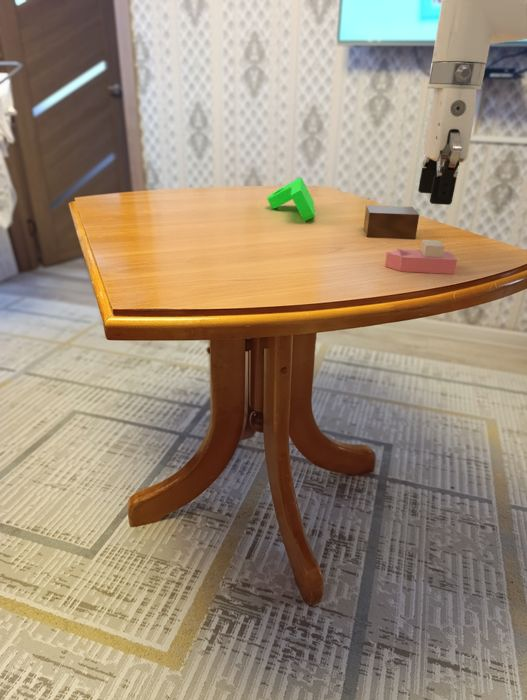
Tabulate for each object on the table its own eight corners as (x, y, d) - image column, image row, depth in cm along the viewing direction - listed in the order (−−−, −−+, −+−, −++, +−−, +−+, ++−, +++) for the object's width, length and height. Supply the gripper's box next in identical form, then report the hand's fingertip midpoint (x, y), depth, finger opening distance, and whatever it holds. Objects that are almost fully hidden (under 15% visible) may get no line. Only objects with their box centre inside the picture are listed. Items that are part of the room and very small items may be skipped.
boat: (447, 265, 89) (452, 239, 87) (454, 274, 85) (459, 247, 83) (383, 262, 90) (386, 236, 88) (386, 270, 86) (390, 244, 84)
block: (409, 229, 112) (412, 206, 110) (415, 239, 105) (419, 214, 103) (363, 227, 113) (366, 204, 111) (366, 236, 106) (369, 212, 104)
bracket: (280, 220, 135) (267, 195, 132) (314, 202, 132) (301, 176, 129) (277, 239, 117) (261, 210, 114) (315, 218, 114) (300, 189, 111)
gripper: (501, 77, 66) (472, 210, 74) (466, 80, 82) (445, 190, 90) (442, 75, 67) (419, 207, 75) (419, 78, 82) (402, 188, 90)
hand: (433, 198), depth 82 cm, fingers open, 9 cm apart
